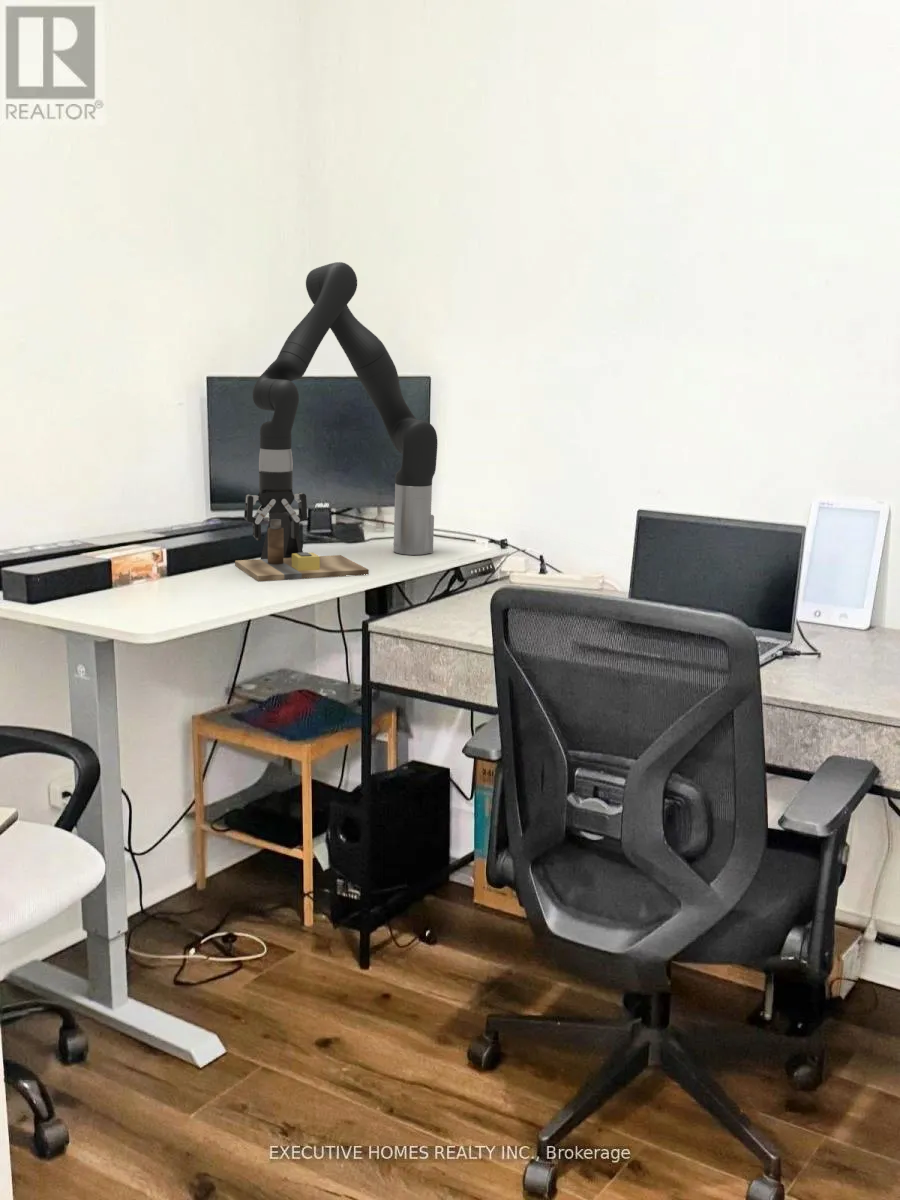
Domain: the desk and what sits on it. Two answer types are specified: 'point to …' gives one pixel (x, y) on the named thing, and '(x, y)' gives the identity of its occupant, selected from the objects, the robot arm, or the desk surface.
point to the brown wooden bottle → (275, 542)
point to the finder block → (305, 561)
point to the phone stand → (289, 543)
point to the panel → (285, 571)
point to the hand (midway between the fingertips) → (276, 539)
